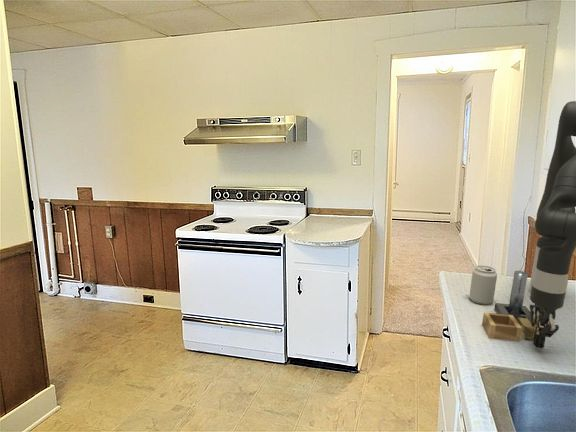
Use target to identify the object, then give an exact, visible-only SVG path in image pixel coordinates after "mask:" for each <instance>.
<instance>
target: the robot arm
mask: <svg viewBox="0 0 576 432" xmlns="http://www.w3.org/2000/svg"><path fill="white" fill-rule="evenodd" d="M557 125H558V126H557V130H556V131H557V132H556V138H555V143H554V144H555V145H554V149H553V153H552V156H551V159H550V162H549V166H548V170H547V174H546V180H545V186H544V190H543V195H542V196H541V199H540V203H539V206H538V208H537V212H536V216H535V217H536V219H535V223H534V229H535V232H536V233H537V234H538V236H541V237H538V239H537V240H536V245H535V251H534V258H533V265H532V268H531V269H532V270H531V275H530V282H529V289H528V292H529V293H530V294H529V300H530V302H531V303H533V304H530V305H529V311H530V314H531V324H532V327H534V332H535V334H534V339H533V340H532V345H533V346H534V347H535V348H537V349H544V347H545V344H546V343H545V342H546V338H552V336H554V335H555V334H556V333H557V331H559V328H560V326H559V324H555V319H556V316H557V314H556V311H557V310H559V309H561V308H563V307H564V303H565V299H566V293H567V287H568V283H569V271H570V266H571V261H572V257H573V255H574V253H575V250H576V146H575V144H574V142H573V138H572V137H576V100H572V101H568V102H567V103H565V105H563V107H562V109H561V113H560V115H559V119H558V124H557Z"/></svg>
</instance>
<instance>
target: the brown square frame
mask: <svg viewBox="0 0 576 432" xmlns="http://www.w3.org/2000/svg"><path fill="white" fill-rule="evenodd" d="M481 325H482V327H483V329H484V330H485V331H484V332H486V334H487V336H488V338H489V339H494V340H495V339H496V340H505V341H514V342H521V338H522V334H521V333H522V327H521V326H520V325H519V323H518V322H517V321H516V319H515V318H514V316H513V315H505V314H496V312H485V311H484V312H483V315H482V321H481Z"/></svg>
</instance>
